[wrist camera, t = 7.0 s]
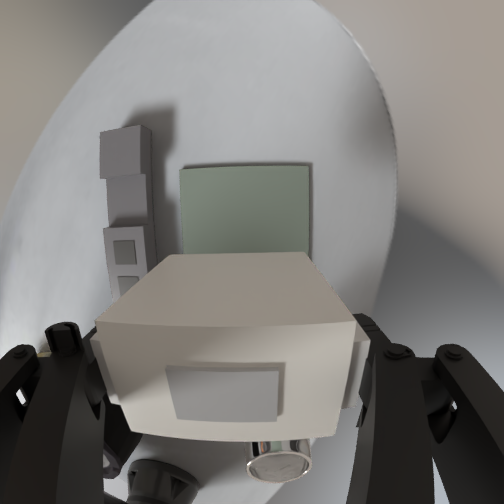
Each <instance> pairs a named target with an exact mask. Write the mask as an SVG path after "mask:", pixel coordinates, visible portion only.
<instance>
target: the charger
mask: <svg viewBox="0 0 504 504" xmlns="http://www.w3.org/2000/svg"><path fill="white" fill-rule="evenodd" d="M356 322H357V321H356V319H355V318H354V317H353V315H352V314H351V312H350V311H349V310H348V308H347V307H346V306H345V304H344V303H343V302H342V300H341V299H340V298H339V296H338V295H337V294H336V292H335V291H334V290H333V288H332V287H331V286H330V284H329V283H328V282H327V281H326V279H325V278H324V277H323V275H322V274H321V273H320V271H319V270H318V269H317V267H316V266H315V265H314V264H313V262H312V261H311V260H310V258H309V257H308V256H307V255H306V253H305V252H270V253H222V254H174V255H169V256H168V257H166V258H165V259H164V260H163V261H162V262H160V263H159V264H158V265H157V266H156V267H155V268H153V269H152V270H151V271H150V272H149V273H148V274H146V275H145V276H144V277H143V278H142V279H141V280H139V281H138V282H137V283H136V284H135V285H134V286H133V287H131V288H130V289H129V290H128V291H127V292H126V293H125V294H124V295H122V296H121V297H120V298H119V299H118V300H117V301H116V302H115V303H113V304H112V305H111V306H110V307H109V308H108V309H107V310H106V311H105V312H104V313H102V314H101V315H100V316H99V317H98V318H97V319H96V320H95V324H96V328H97V332H98V336H99V340H100V344H101V347H102V351H103V354H104V358H105V361H106V364H107V367H108V371H109V374H110V377H111V380H112V383H113V386H114V388H115V391H116V394H117V397H118V400H119V402H120V405H121V407H122V410H123V412H124V415H125V417H126V420H127V422H128V425H129V427H130V429H131V431H134V432H139V433H145V434H151V435H158V436H165V437H173V438H183V439H193V440H207V441H230V442H261V441H284V440H298V439H309V438H318V437H326V436H333V435H335V431H336V427H337V423H338V419H339V415H340V410H341V406H342V402H343V397H344V393H345V388H346V383H347V378H348V372H349V367H350V361H351V355H352V349H353V343H354V336H355V329H356Z"/></svg>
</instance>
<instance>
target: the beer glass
mask: <svg viewBox="0 0 504 504" xmlns="http://www.w3.org/2000/svg"><path fill="white" fill-rule="evenodd" d="M245 459H246V472H247V474H248V475H249V476H250V477H251V478H253V479H255V480H257V481H261V482H265V483H284V482H289V481H293V480H296V479H298V478H300V477H302V476H304V475H305V474H307V473H308V472H309V471H310V469H311V467H312V461H311V448H310V440H309V439H298V440H284V441H261V442H245Z"/></svg>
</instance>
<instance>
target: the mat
mask: <svg viewBox="0 0 504 504" xmlns="http://www.w3.org/2000/svg"><path fill="white" fill-rule="evenodd" d="M179 172H180V202H181V222H182V239H183V253H184V254H222V253H270V252H305V253H306V255H307V256H308V255H309V166H235V167H212V168H195V169H181V170H179Z"/></svg>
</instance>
